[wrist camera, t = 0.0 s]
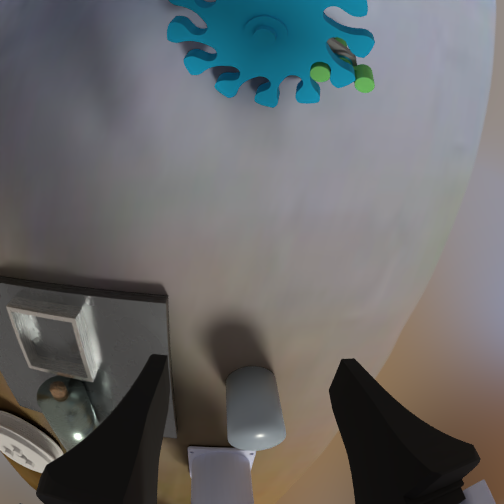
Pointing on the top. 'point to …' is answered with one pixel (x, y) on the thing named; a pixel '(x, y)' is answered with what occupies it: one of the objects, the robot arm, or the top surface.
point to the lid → (26, 443)
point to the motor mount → (79, 351)
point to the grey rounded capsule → (253, 409)
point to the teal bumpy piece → (276, 45)
